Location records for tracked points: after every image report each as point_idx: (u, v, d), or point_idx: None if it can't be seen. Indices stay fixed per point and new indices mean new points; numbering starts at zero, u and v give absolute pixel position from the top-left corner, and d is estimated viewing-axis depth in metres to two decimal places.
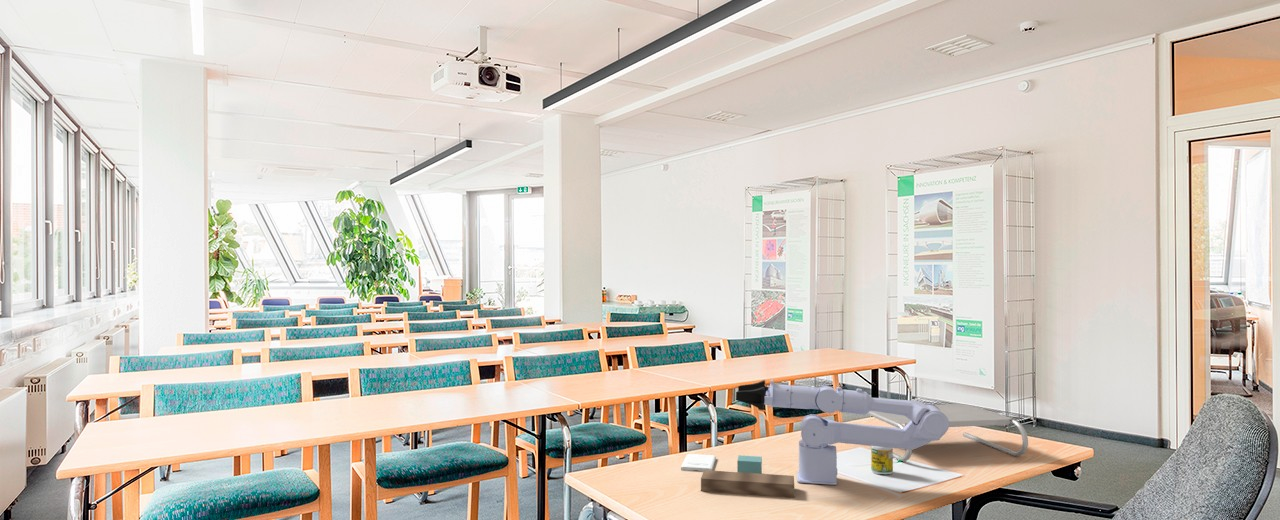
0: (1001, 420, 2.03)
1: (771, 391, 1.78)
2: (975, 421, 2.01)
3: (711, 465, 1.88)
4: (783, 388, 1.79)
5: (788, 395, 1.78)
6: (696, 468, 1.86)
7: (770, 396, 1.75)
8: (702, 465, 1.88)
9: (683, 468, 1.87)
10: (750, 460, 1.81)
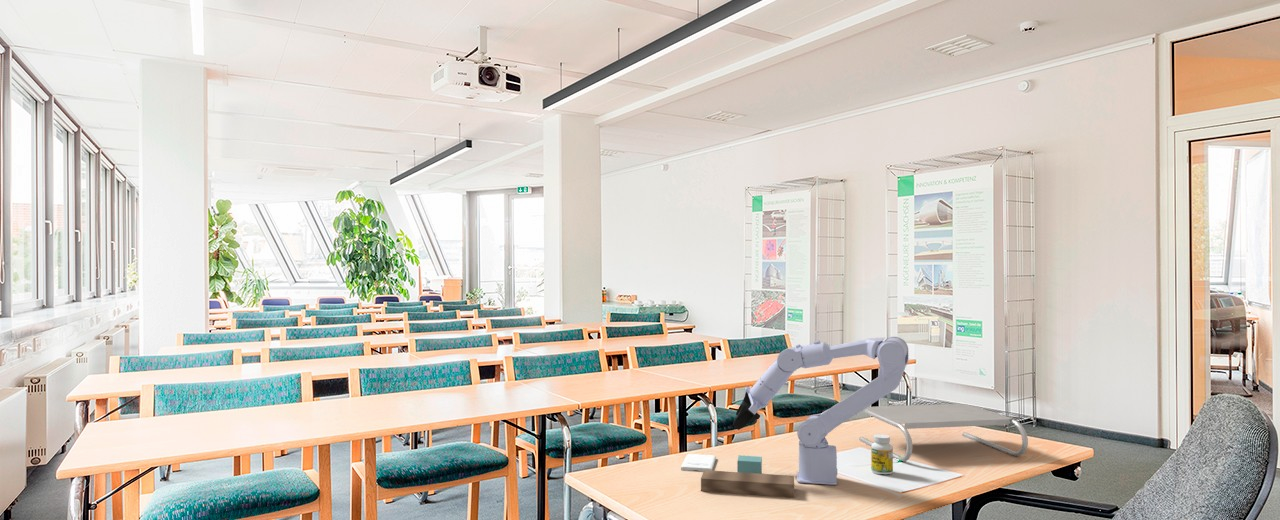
0: (1001, 420, 2.03)
1: (750, 398, 1.82)
2: (975, 421, 2.01)
3: (711, 465, 1.88)
4: (757, 386, 1.84)
5: (764, 387, 1.82)
6: (696, 468, 1.86)
7: (752, 404, 1.80)
8: (702, 465, 1.88)
9: (683, 468, 1.87)
10: (750, 460, 1.81)
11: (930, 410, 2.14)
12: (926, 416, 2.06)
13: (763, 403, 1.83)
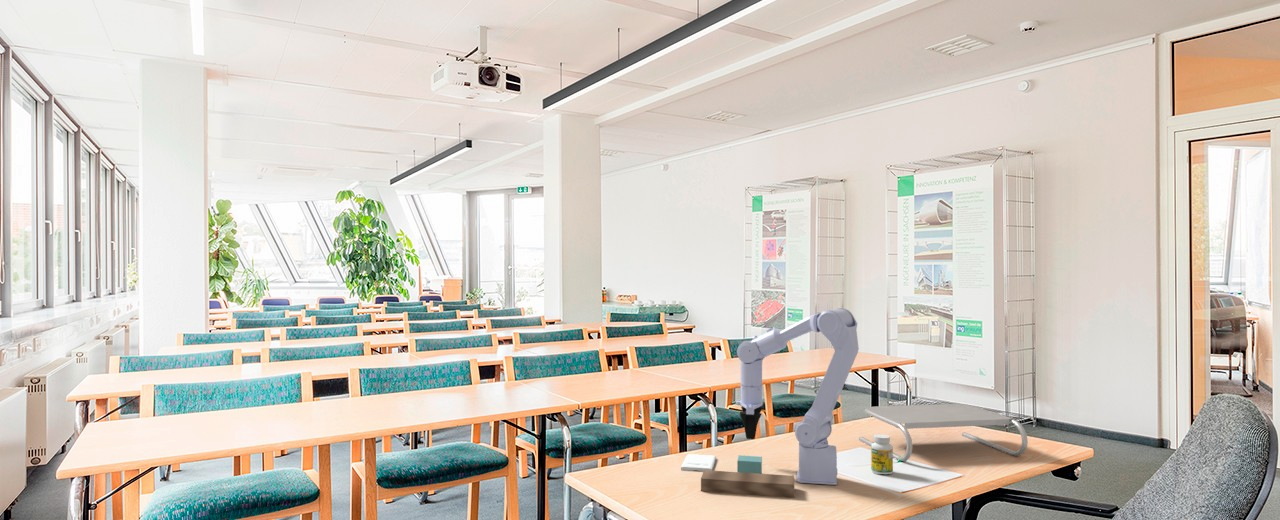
0: (1000, 420, 2.03)
1: (743, 405, 1.86)
2: (975, 421, 2.01)
3: (711, 465, 1.88)
4: (742, 392, 1.89)
5: (747, 388, 1.88)
6: (696, 468, 1.86)
7: (746, 408, 1.84)
8: (702, 465, 1.88)
9: (683, 468, 1.87)
10: (750, 460, 1.81)
11: (930, 410, 2.14)
12: (926, 416, 2.06)
13: (757, 402, 1.87)
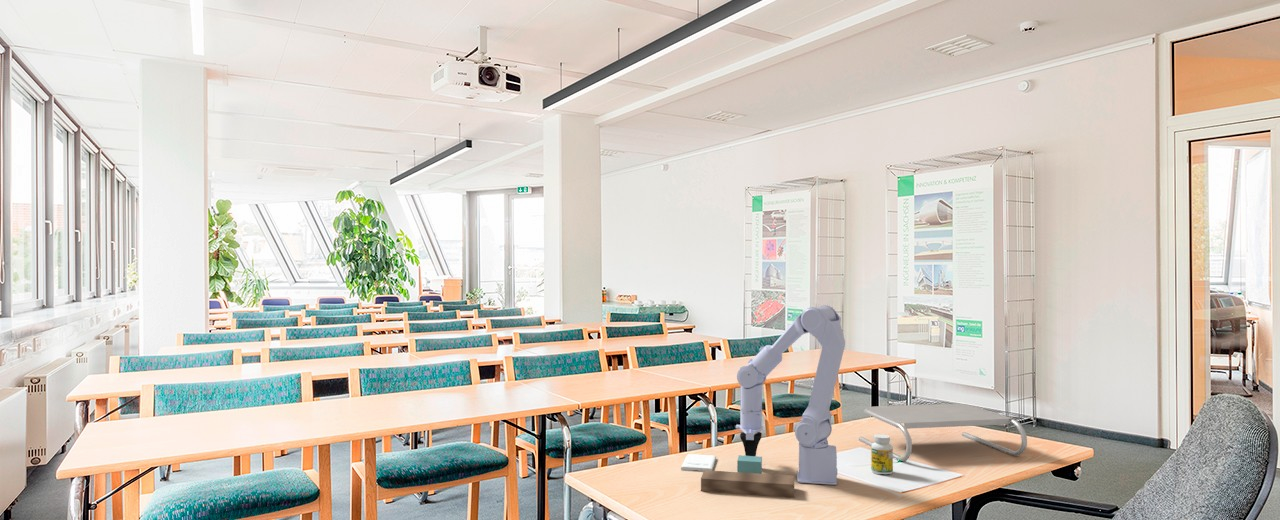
0: (1000, 420, 2.03)
1: (743, 430, 1.86)
2: (974, 421, 2.01)
3: (711, 465, 1.88)
4: (742, 417, 1.89)
5: (747, 413, 1.88)
6: (697, 468, 1.86)
7: (745, 433, 1.84)
8: (702, 465, 1.88)
9: (683, 468, 1.87)
10: (750, 460, 1.81)
11: (929, 410, 2.14)
12: (925, 416, 2.06)
13: (757, 427, 1.87)
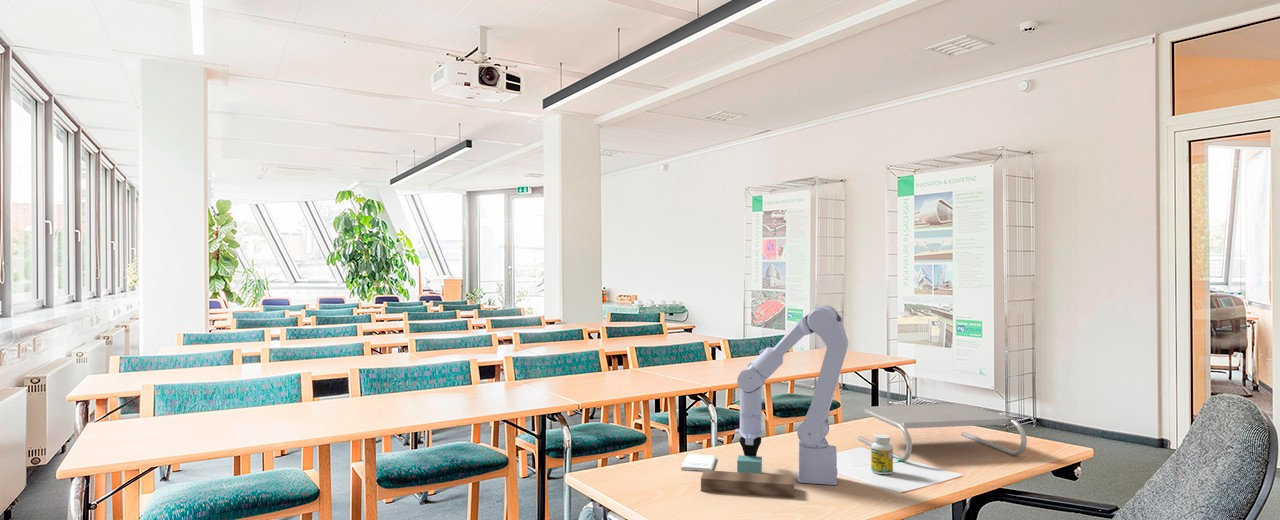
0: (1000, 420, 2.03)
1: (742, 435, 1.83)
2: (974, 421, 2.02)
3: (711, 465, 1.88)
4: (741, 421, 1.85)
5: (747, 418, 1.84)
6: (697, 468, 1.86)
7: (745, 438, 1.80)
8: (702, 465, 1.88)
9: (683, 468, 1.87)
10: (750, 460, 1.81)
11: (929, 410, 2.14)
12: (925, 416, 2.06)
13: (756, 432, 1.84)
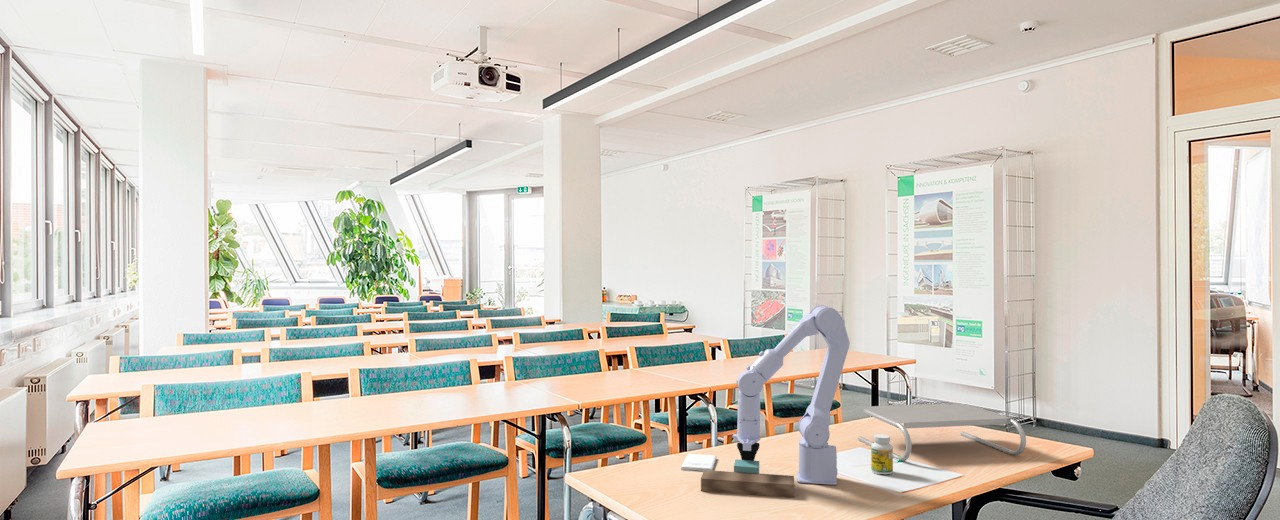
0: (999, 419, 2.03)
1: (740, 440, 1.77)
2: (973, 420, 2.02)
3: (711, 465, 1.88)
4: (739, 426, 1.79)
5: (745, 422, 1.78)
6: (697, 468, 1.86)
7: (742, 444, 1.74)
8: (702, 465, 1.88)
9: (683, 468, 1.87)
10: (747, 466, 1.75)
11: (929, 410, 2.15)
12: (925, 416, 2.06)
13: (754, 437, 1.78)
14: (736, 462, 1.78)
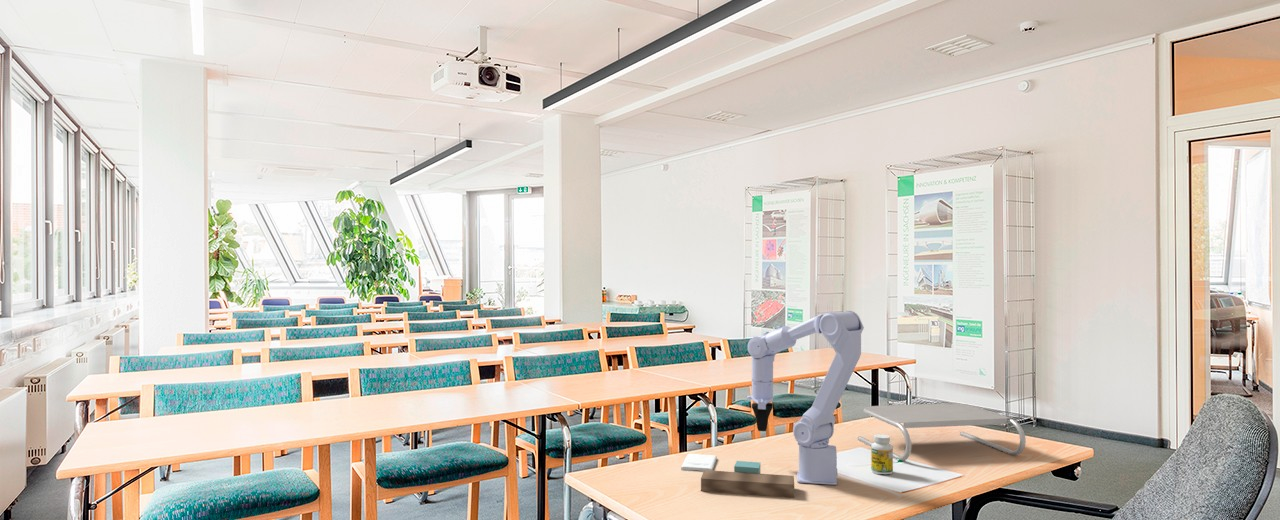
0: (999, 419, 2.04)
1: (755, 400, 1.88)
2: (973, 420, 2.02)
3: (711, 465, 1.88)
4: (753, 387, 1.90)
5: (759, 384, 1.89)
6: (697, 468, 1.86)
7: (757, 403, 1.85)
8: (702, 465, 1.88)
9: (683, 468, 1.87)
10: (747, 466, 1.76)
11: (928, 409, 2.15)
12: (924, 415, 2.07)
13: (768, 397, 1.89)
14: (737, 463, 1.78)
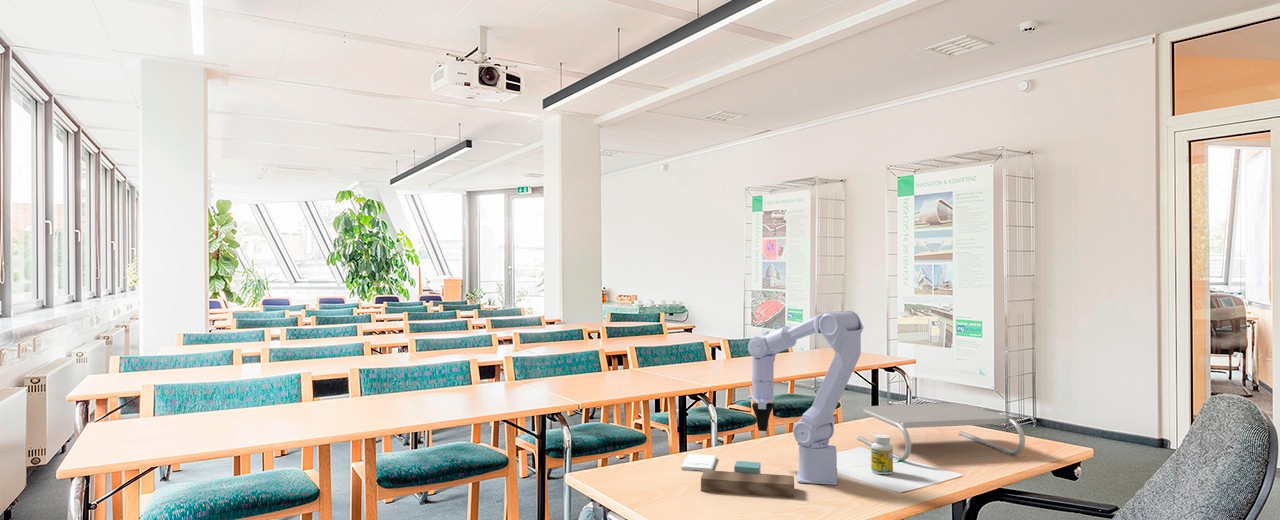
0: (998, 419, 2.04)
1: (755, 400, 1.88)
2: (972, 420, 2.02)
3: (711, 465, 1.89)
4: (754, 387, 1.91)
5: (759, 384, 1.89)
6: (697, 468, 1.86)
7: (758, 403, 1.86)
8: (702, 465, 1.88)
9: (683, 468, 1.87)
10: (747, 466, 1.75)
11: (928, 409, 2.15)
12: (924, 415, 2.07)
13: (768, 397, 1.89)
14: (737, 463, 1.78)
